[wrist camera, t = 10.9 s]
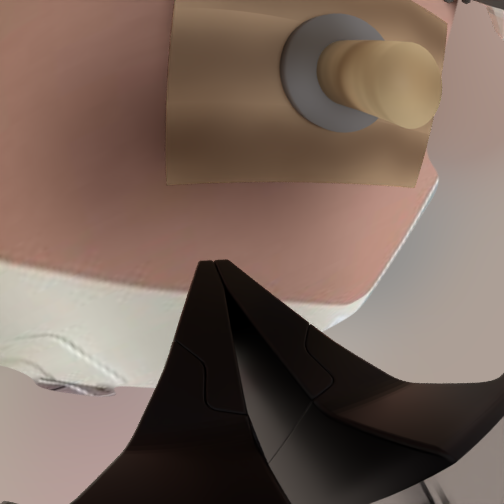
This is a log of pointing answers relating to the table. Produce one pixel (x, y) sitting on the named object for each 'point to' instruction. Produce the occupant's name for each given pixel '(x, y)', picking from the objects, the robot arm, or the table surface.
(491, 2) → the giant panda
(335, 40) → the tan piece
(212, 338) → the robot arm
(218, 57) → the walnut board
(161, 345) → the table surface
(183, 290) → the table surface
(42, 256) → the table surface
